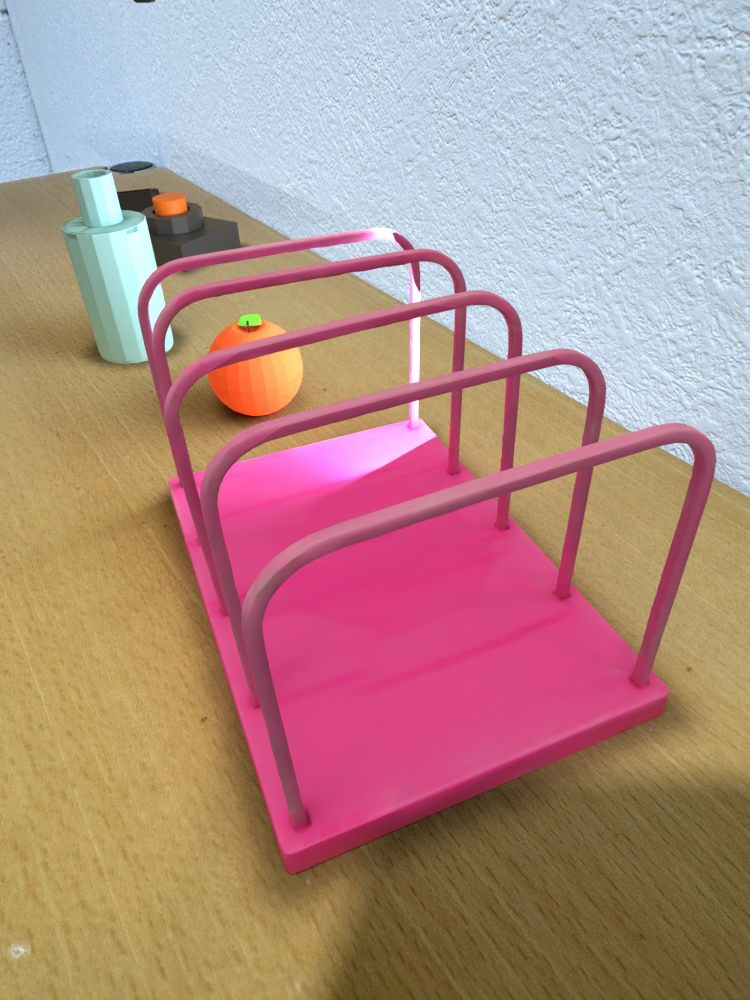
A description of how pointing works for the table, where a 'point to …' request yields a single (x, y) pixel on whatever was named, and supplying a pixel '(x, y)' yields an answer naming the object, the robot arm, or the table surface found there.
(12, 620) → the table surface
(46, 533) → the table surface
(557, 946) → the table surface
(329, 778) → the file sorter
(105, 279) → the mint green bottle
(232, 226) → the dock
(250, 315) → the clementine
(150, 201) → the phone
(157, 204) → the button
